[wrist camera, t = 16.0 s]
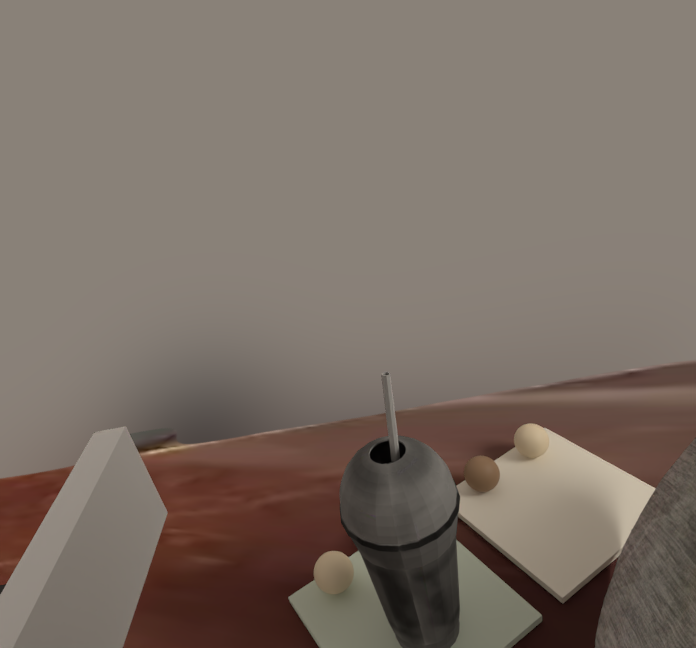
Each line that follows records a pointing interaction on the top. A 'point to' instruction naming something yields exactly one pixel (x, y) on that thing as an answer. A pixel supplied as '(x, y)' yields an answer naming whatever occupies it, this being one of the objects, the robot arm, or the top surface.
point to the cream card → (552, 508)
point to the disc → (657, 570)
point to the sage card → (371, 622)
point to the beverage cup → (406, 532)
